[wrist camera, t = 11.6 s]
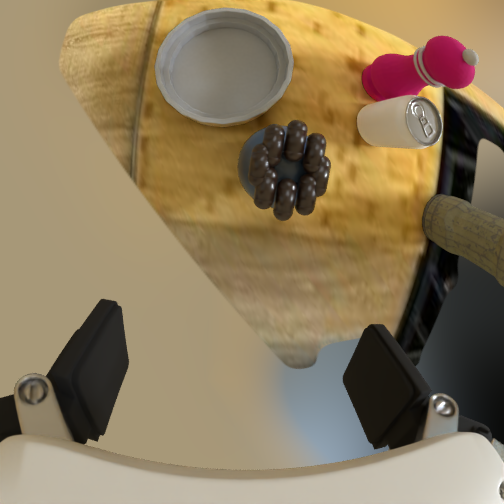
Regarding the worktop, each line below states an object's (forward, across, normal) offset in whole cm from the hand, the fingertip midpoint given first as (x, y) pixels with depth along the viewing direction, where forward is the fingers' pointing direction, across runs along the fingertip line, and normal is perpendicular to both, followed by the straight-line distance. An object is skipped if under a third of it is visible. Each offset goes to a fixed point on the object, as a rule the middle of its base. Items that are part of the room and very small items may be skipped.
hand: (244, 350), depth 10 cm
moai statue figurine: (+29, -35, -4) cm, 45 cm away
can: (+28, -18, -15) cm, 37 cm away
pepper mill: (+28, -18, -22) cm, 40 cm away
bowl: (+28, +4, -18) cm, 34 cm away
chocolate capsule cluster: (+17, -4, -6) cm, 19 cm away
